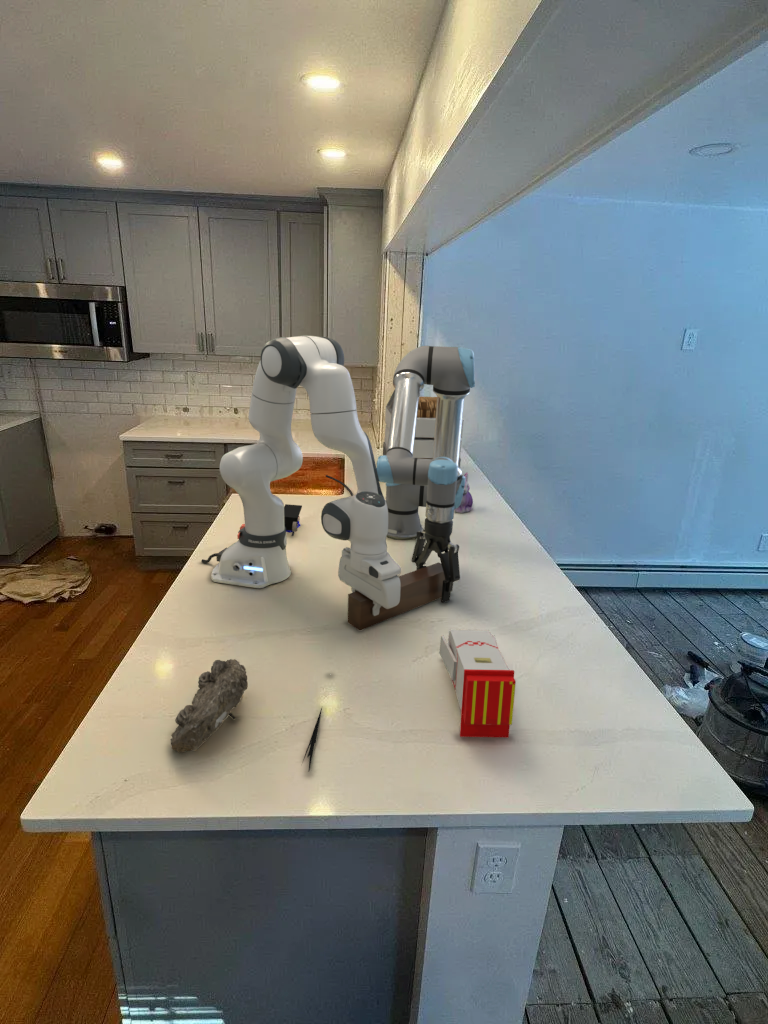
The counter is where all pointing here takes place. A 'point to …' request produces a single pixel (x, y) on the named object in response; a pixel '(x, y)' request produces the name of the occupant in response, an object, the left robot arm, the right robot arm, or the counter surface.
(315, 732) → the feather
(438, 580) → the walnut beam
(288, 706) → the counter surface
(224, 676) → the fossil
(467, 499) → the figurine
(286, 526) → the figurine character
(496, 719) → the toy
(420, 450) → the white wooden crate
